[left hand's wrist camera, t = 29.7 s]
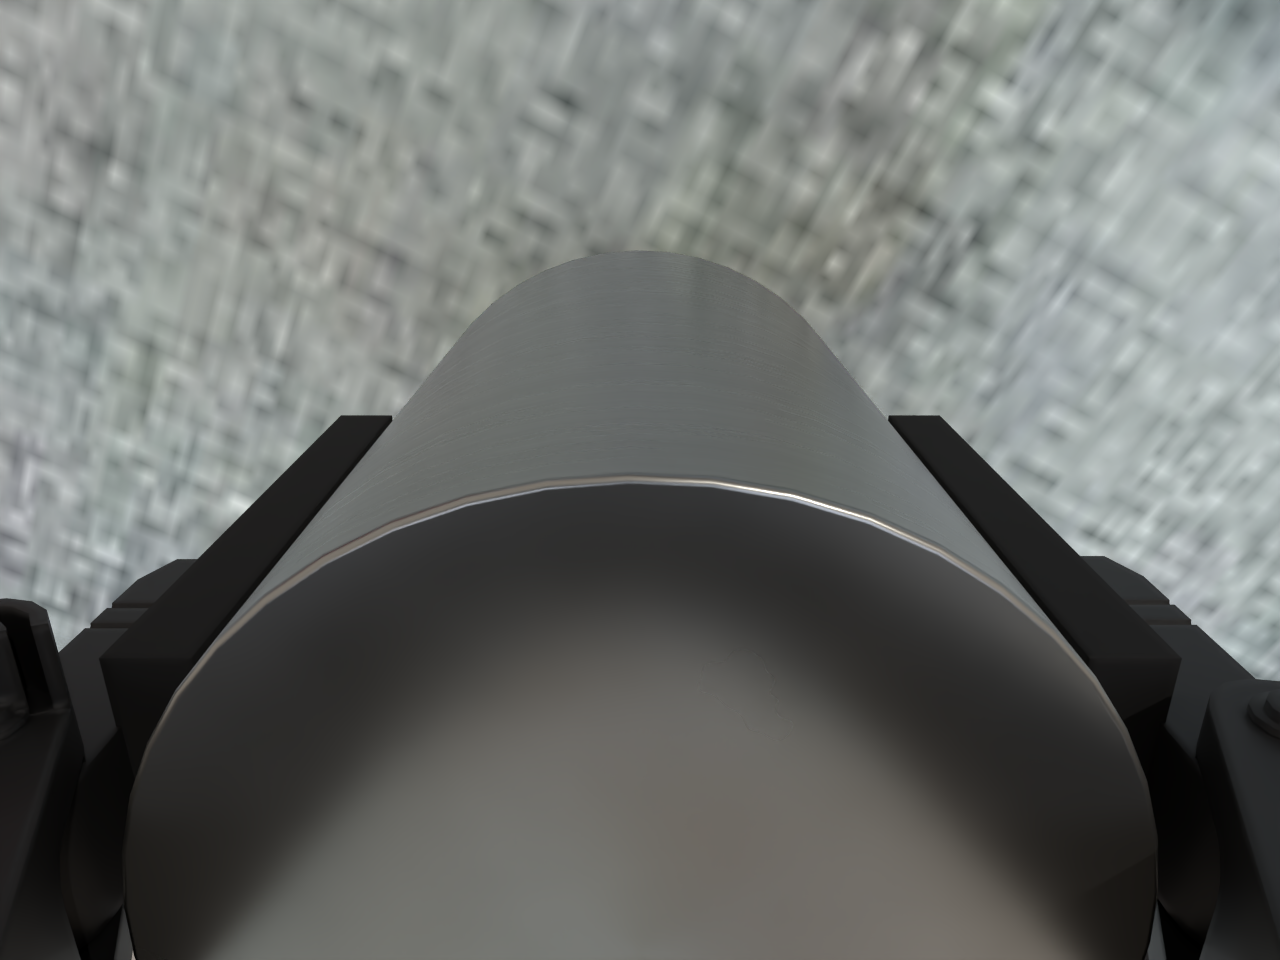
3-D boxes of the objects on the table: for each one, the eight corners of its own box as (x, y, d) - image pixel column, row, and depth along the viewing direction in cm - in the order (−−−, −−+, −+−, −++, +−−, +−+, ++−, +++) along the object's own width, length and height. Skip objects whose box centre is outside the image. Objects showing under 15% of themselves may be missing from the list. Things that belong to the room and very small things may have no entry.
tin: (370, 288, 14) (-65, 566, 5) (845, 215, 14) (1203, 390, 5) (472, 685, 17) (291, 1299, 8) (871, 634, 16) (1136, 1221, 8)
